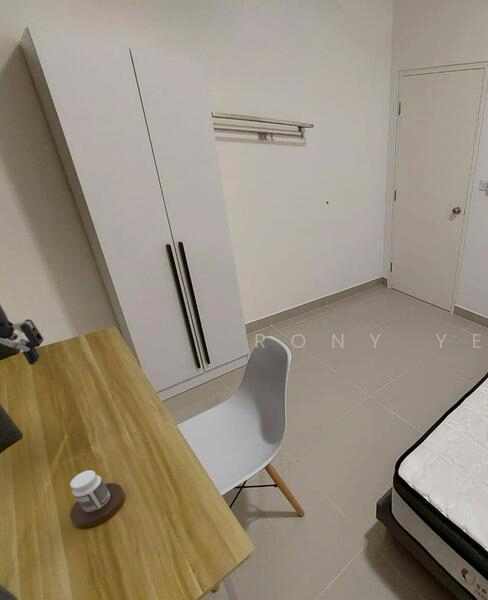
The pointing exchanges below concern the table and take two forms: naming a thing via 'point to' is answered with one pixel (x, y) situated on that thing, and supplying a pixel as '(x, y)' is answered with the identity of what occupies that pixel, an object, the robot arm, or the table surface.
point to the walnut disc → (101, 514)
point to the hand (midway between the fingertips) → (7, 367)
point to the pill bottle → (90, 491)
